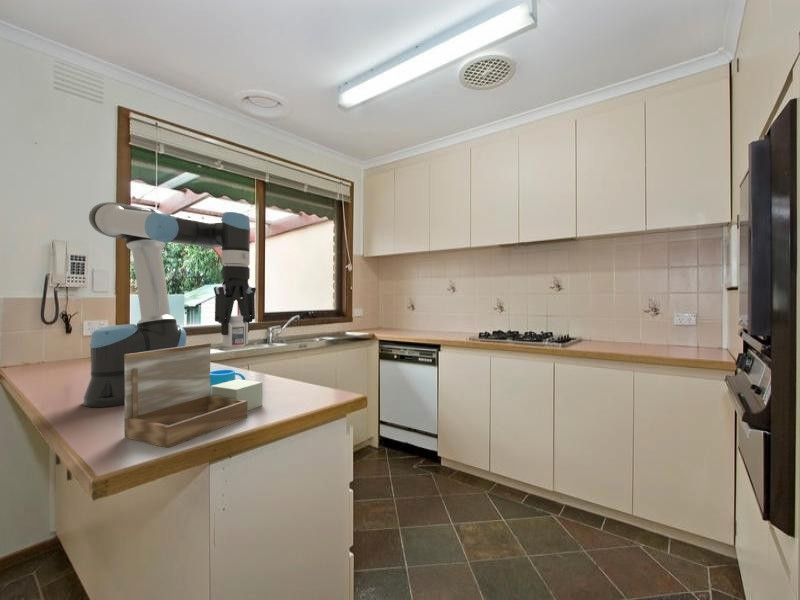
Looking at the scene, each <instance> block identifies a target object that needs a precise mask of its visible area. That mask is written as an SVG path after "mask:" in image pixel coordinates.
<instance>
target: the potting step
mask: <svg viewBox="0 0 800 600" xmlns="http://www.w3.org/2000/svg"><path fill="white" fill-rule="evenodd" d="M211 395H212V396H219V397H225V398H232V399H238V400H245V401H248V411H250V410H253V409H256V408H258V407H261V406H263V381H255V380H249V379H248V380H247V379H245V380H242V378H241V379H239V378H237V379H236V378H235V380H232V381H228V382H224V383H220V384H217V385H213V386H211Z"/></svg>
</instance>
